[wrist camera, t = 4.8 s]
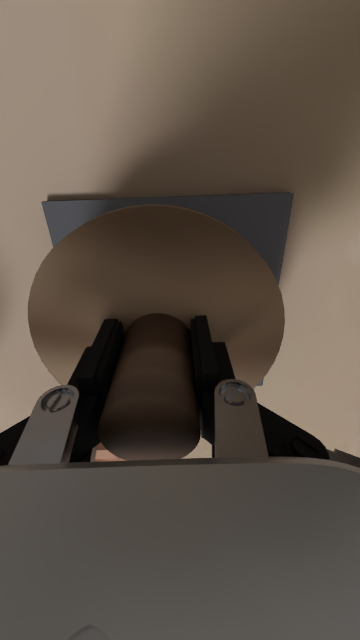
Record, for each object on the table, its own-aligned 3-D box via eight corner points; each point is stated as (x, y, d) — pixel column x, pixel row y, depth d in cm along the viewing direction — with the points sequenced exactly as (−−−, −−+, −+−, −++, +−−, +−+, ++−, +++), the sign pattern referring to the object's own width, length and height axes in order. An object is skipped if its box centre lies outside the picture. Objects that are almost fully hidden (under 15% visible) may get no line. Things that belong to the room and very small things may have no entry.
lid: (-4, 211, 10) (-192, 254, 5) (298, 196, 10) (431, 224, 5) (74, 413, 16) (26, 527, 11) (261, 405, 16) (303, 517, 11)
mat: (46, 201, 15) (41, 201, 14) (289, 192, 14) (293, 192, 14) (93, 384, 21) (91, 389, 21) (260, 380, 21) (262, 385, 21)
